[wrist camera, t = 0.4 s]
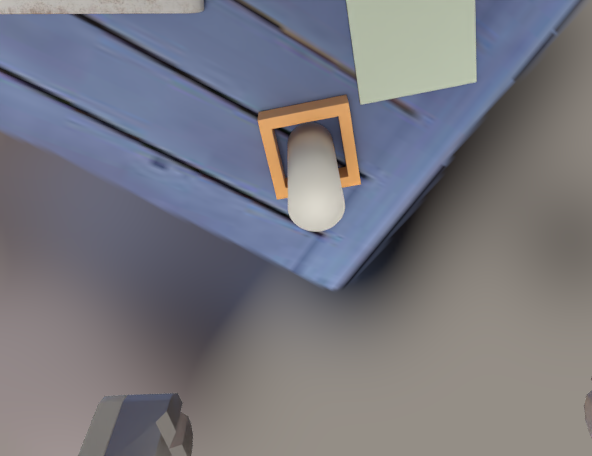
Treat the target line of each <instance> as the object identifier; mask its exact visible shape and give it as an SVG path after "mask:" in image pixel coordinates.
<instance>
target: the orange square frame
mask: <svg viewBox="0 0 592 456" xmlns="http://www.w3.org/2000/svg"><path fill="white" fill-rule="evenodd" d="M337 116H338V119H339V125H340V131H341V137H342V143H343V150H344V156H345V162H346V167H342V168H338V170H339V175H340V181H341V186H342V188H343V187H348V186H354V185H359V184H361V182H360V175H359V168H358V162H357V155H356V148H355V141H354V135H353V128H352V121H351V115H350V108H349V102H348V99H347V96H346V95H342V96H337V97H332V98H327V99H322V100H317V101H312V102H307V103H302V104H297V105H292V106H287V107H282V108H277V109H272V110H267V111H262V112H259V113H258V124H259V128H260V132H261V136H262V140H263V144H264V148H265V152H266V156H267V160H268V164H269V168H270V172H271V177H272V181H273V185H274V189H275V193H276V197H277V199H283V198H288V178H285V174H284V169H283V165H282V161H281V156H280V152H279V148H278V143H277V139H276V135H275V131H274V129H275V128H280V127H285V126H291V125H296V124H301V123H306V122H311V121H316V120H321V119H326V118H332V117H337Z"/></svg>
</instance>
